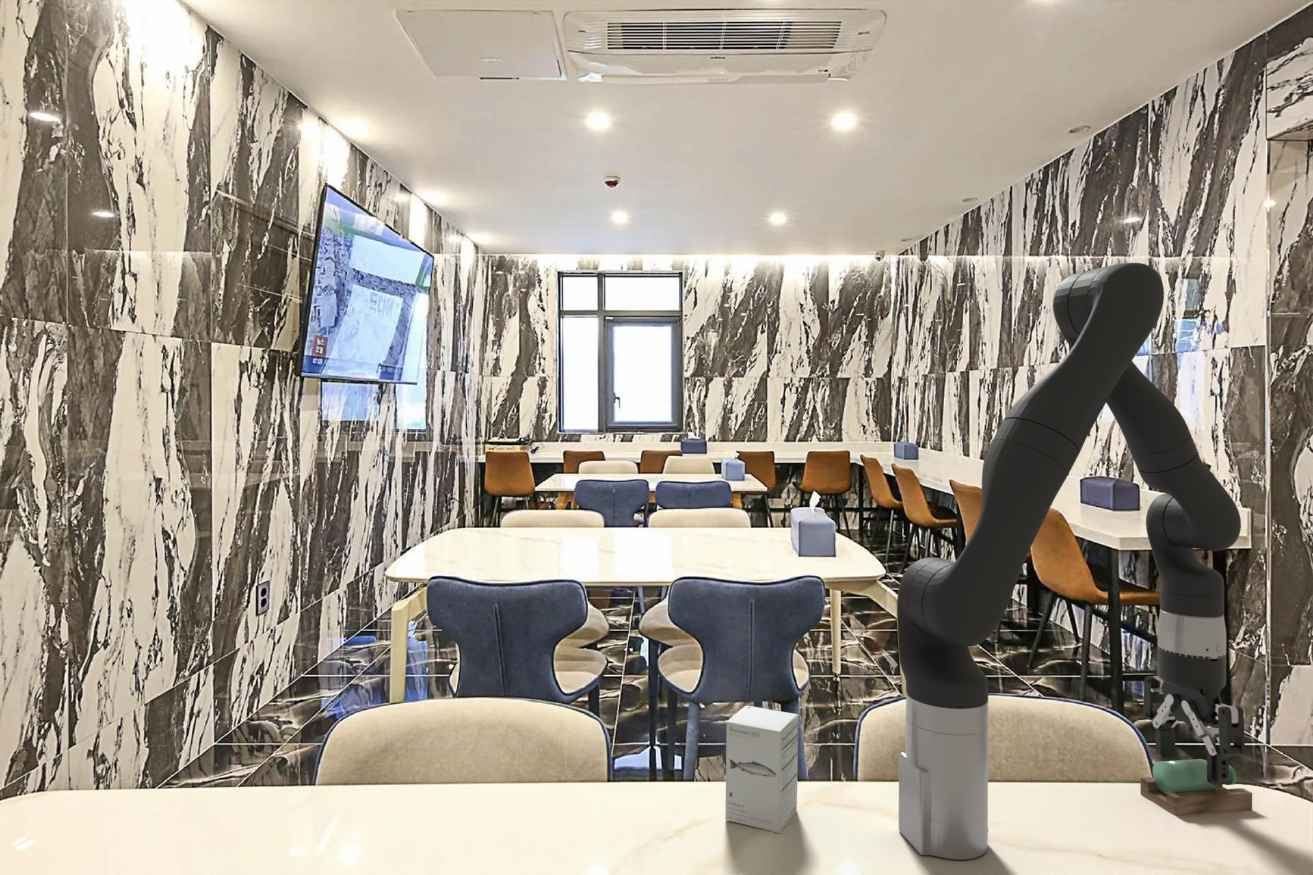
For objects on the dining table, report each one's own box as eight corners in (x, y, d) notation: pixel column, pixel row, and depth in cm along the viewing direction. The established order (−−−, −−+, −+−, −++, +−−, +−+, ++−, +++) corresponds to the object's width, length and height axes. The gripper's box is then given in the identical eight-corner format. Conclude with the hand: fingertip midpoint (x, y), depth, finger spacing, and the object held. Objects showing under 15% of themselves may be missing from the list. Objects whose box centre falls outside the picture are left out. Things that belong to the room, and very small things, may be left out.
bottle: (1176, 799, 104) (1175, 767, 104) (1152, 787, 108) (1152, 756, 108) (1241, 795, 105) (1240, 764, 105) (1216, 783, 109) (1215, 753, 109)
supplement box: (723, 821, 101) (723, 720, 101) (745, 798, 108) (745, 703, 108) (780, 835, 98) (780, 730, 98) (799, 810, 104) (799, 712, 104)
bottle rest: (1174, 814, 103) (1174, 797, 103) (1140, 794, 109) (1140, 777, 109) (1252, 809, 105) (1252, 792, 104) (1214, 789, 110) (1214, 773, 110)
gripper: (1126, 633, 113) (1126, 749, 113) (1209, 662, 99) (1208, 795, 99) (1175, 632, 114) (1174, 747, 114) (1264, 660, 100) (1263, 791, 100)
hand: (1190, 769), depth 107 cm, fingers open, 8 cm apart
